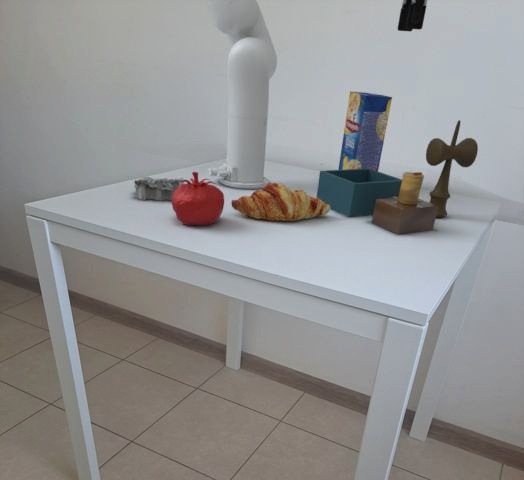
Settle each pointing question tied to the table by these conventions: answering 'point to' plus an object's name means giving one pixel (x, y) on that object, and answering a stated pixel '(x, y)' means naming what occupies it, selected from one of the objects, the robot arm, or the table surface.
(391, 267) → the table surface
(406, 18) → the robot arm
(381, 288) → the table surface
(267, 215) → the croissant
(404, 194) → the tap knob
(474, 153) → the kendama
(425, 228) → the block
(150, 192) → the grey flat jagged block
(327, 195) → the teal open box
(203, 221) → the red tomato
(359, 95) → the beverage box
